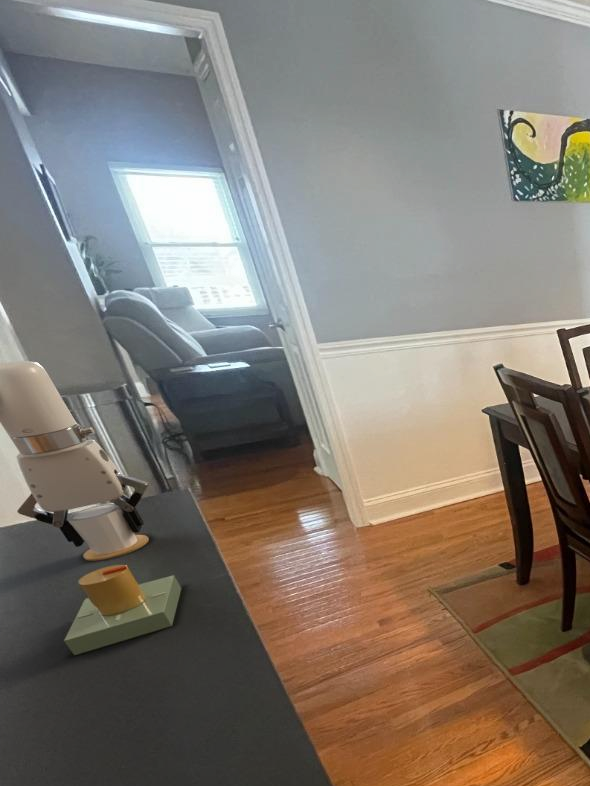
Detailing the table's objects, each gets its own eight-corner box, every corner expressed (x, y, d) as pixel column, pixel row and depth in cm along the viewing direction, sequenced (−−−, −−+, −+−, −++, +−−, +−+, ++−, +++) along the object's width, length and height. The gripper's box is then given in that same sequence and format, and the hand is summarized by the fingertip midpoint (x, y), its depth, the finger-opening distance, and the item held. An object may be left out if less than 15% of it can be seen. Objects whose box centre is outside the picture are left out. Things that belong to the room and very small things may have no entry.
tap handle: (95, 620, 82) (72, 586, 79) (102, 603, 85) (81, 571, 83) (143, 606, 84) (123, 573, 81) (148, 590, 88) (129, 559, 85)
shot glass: (103, 559, 101) (80, 522, 98) (80, 553, 103) (57, 517, 100) (150, 539, 107) (130, 505, 104) (127, 534, 109) (107, 500, 106)
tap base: (74, 655, 79) (62, 639, 78) (94, 612, 88) (84, 598, 86) (172, 626, 84) (162, 610, 83) (181, 588, 93) (173, 574, 91)
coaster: (79, 566, 100) (77, 564, 100) (90, 546, 106) (89, 544, 106) (144, 549, 104) (143, 547, 104) (152, 532, 111) (151, 530, 110)
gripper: (126, 423, 103) (176, 514, 111) (-20, 447, 94) (46, 544, 103) (118, 434, 98) (171, 529, 106) (-38, 461, 89) (33, 562, 97)
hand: (109, 535), depth 104 cm, fingers closed on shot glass, 6 cm apart
